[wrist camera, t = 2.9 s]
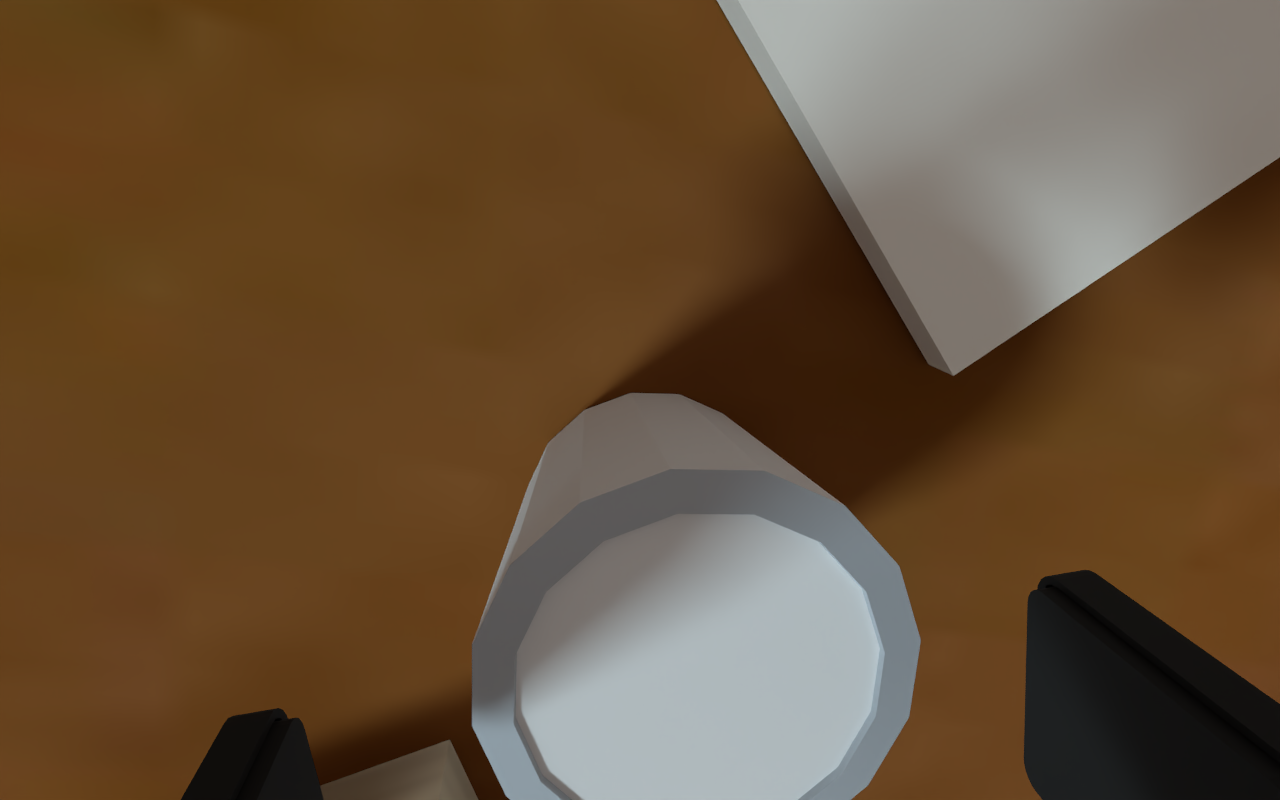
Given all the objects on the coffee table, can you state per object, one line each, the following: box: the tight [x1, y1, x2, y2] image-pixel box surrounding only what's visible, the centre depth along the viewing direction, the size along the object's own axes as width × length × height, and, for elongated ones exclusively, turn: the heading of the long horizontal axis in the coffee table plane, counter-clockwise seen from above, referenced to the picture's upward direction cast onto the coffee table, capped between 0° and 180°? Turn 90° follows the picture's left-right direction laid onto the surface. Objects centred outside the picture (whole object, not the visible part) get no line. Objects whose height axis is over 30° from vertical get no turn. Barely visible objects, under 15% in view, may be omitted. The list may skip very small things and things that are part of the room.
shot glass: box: [472, 393, 921, 800], centre depth 15 cm, size 7×7×7 cm
